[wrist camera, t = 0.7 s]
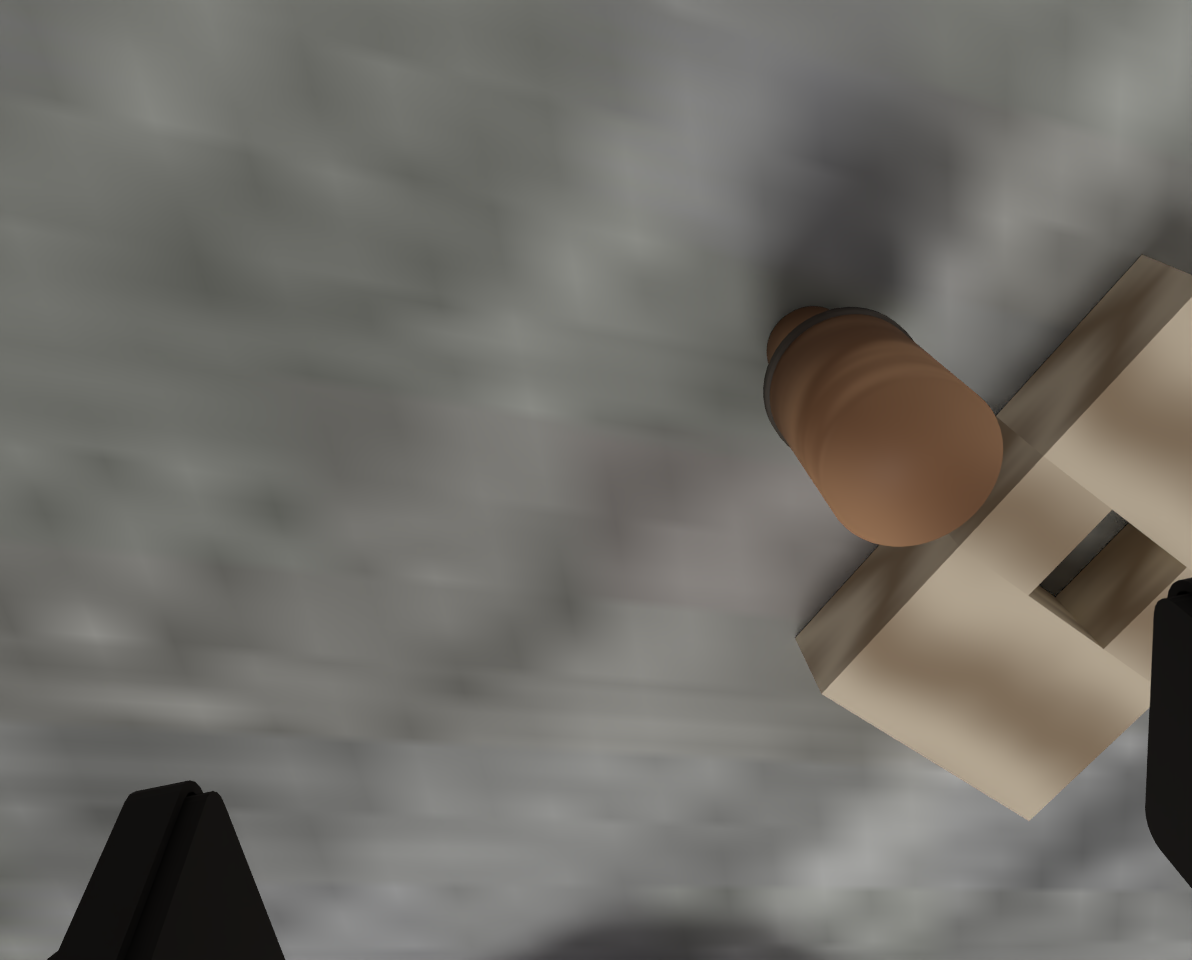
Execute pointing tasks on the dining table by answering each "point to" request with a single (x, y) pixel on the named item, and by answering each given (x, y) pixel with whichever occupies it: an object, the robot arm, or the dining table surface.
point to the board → (1037, 567)
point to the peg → (880, 425)
